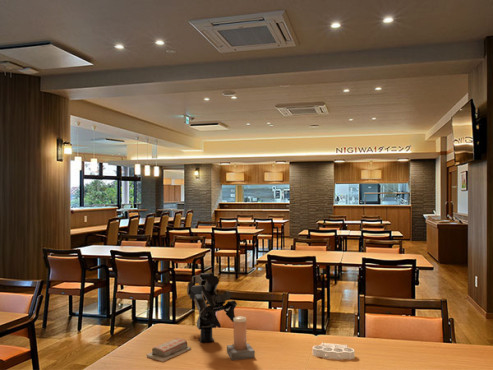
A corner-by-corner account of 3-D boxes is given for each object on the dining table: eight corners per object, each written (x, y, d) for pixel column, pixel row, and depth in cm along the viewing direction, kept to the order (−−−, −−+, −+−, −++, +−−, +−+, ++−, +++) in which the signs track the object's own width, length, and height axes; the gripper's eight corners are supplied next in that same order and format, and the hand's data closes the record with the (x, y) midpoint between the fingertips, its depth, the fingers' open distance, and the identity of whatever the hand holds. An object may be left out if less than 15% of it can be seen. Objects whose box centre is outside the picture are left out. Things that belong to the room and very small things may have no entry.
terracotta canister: (234, 345, 193) (233, 316, 194) (246, 345, 193) (246, 316, 194) (233, 350, 188) (233, 320, 188) (246, 350, 188) (246, 319, 188)
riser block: (226, 352, 194) (226, 345, 194) (248, 349, 197) (248, 343, 197) (232, 360, 184) (231, 353, 184) (254, 357, 187) (254, 350, 187)
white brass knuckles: (355, 351, 195) (354, 363, 181) (314, 347, 200) (311, 359, 186) (355, 343, 196) (354, 355, 181) (314, 340, 200) (310, 351, 186)
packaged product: (175, 335, 204) (191, 339, 198) (175, 346, 204) (191, 350, 198) (146, 346, 189) (163, 351, 183) (146, 358, 189) (162, 363, 183)
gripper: (204, 289, 194) (220, 319, 186) (234, 283, 207) (251, 310, 199) (193, 304, 199) (208, 333, 191) (223, 297, 213) (239, 324, 205)
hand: (227, 324), depth 197 cm, fingers open, 9 cm apart
